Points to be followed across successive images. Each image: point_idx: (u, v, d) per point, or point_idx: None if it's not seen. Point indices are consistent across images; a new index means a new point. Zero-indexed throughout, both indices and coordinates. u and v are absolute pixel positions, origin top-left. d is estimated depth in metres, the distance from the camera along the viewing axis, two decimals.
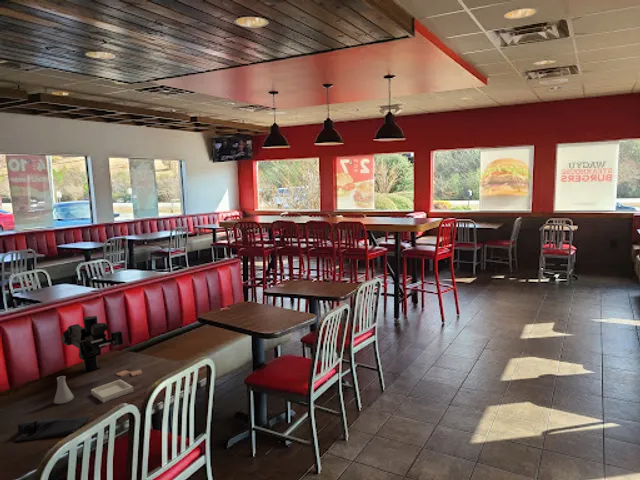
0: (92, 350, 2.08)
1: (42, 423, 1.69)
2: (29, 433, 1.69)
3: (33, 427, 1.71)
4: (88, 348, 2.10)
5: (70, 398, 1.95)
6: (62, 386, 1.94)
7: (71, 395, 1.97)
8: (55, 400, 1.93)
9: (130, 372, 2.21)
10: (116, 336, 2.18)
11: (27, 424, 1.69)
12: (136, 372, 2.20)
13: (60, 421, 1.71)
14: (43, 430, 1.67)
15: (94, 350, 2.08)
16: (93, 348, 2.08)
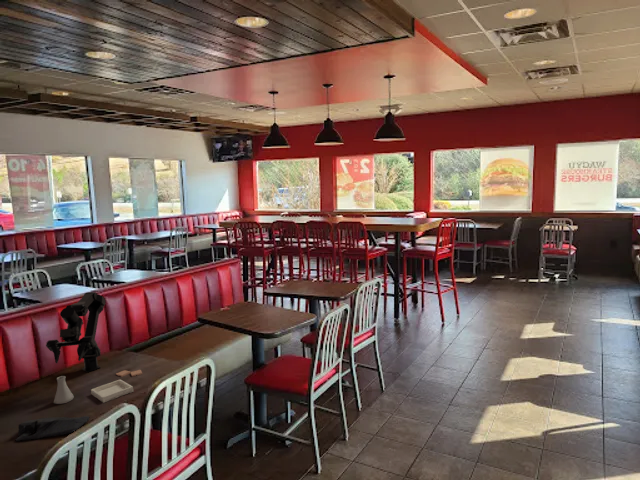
0: None
1: (43, 423, 1.69)
2: (30, 433, 1.69)
3: (34, 427, 1.71)
4: None
5: (70, 398, 1.95)
6: (62, 386, 1.94)
7: (71, 395, 1.97)
8: (55, 400, 1.93)
9: (130, 372, 2.21)
10: (83, 346, 2.05)
11: (28, 424, 1.69)
12: (136, 372, 2.20)
13: (61, 421, 1.71)
14: (43, 430, 1.68)
15: None
16: None
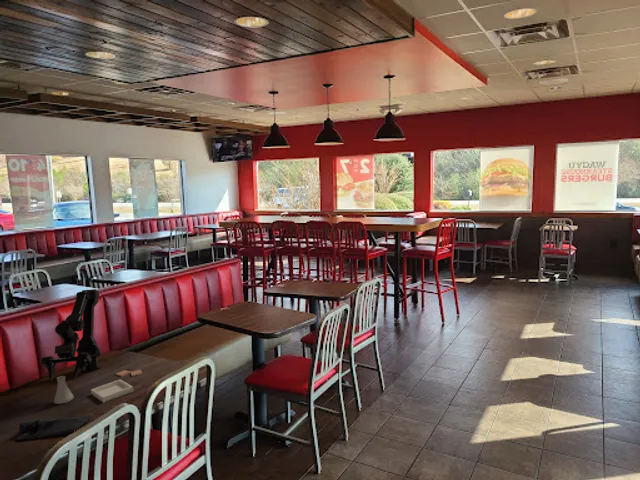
0: None
1: (43, 422, 1.70)
2: (31, 432, 1.70)
3: (34, 426, 1.71)
4: None
5: (70, 398, 1.95)
6: (62, 386, 1.94)
7: (71, 395, 1.97)
8: (55, 400, 1.93)
9: (130, 372, 2.21)
10: (78, 363, 1.99)
11: (29, 423, 1.69)
12: (136, 372, 2.20)
13: (61, 421, 1.72)
14: (44, 430, 1.68)
15: None
16: None
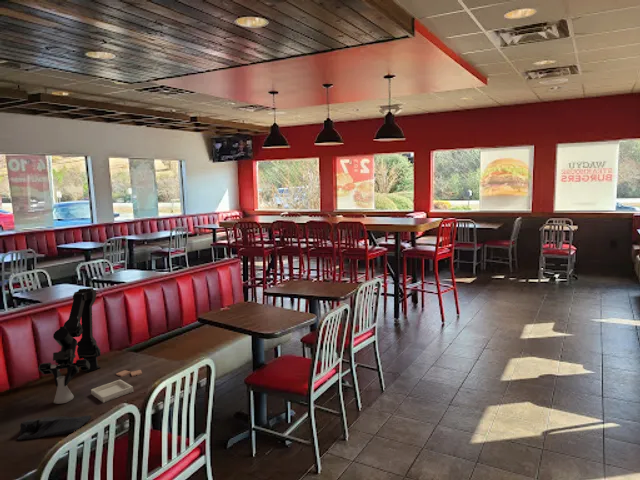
0: None
1: (44, 422, 1.70)
2: (31, 432, 1.70)
3: (35, 426, 1.72)
4: None
5: (70, 398, 1.95)
6: (62, 386, 1.94)
7: (71, 395, 1.97)
8: (55, 400, 1.93)
9: (131, 372, 2.21)
10: (70, 370, 1.97)
11: (29, 423, 1.70)
12: (136, 372, 2.20)
13: (62, 420, 1.72)
14: (45, 429, 1.68)
15: None
16: None
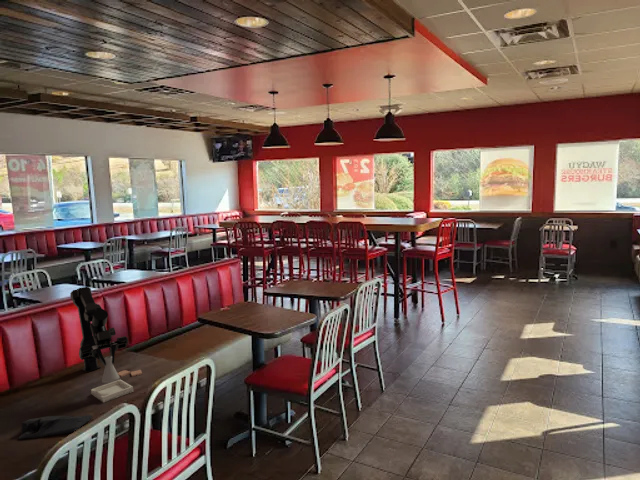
0: (100, 360, 1.98)
1: (45, 421, 1.70)
2: (33, 431, 1.70)
3: (37, 425, 1.72)
4: None
5: (118, 376, 2.00)
6: (111, 365, 1.98)
7: (117, 374, 2.01)
8: (105, 380, 1.96)
9: (131, 372, 2.21)
10: (114, 348, 2.01)
11: (31, 422, 1.70)
12: (136, 372, 2.20)
13: (63, 420, 1.72)
14: (46, 429, 1.69)
15: (102, 362, 1.98)
16: (101, 360, 1.97)
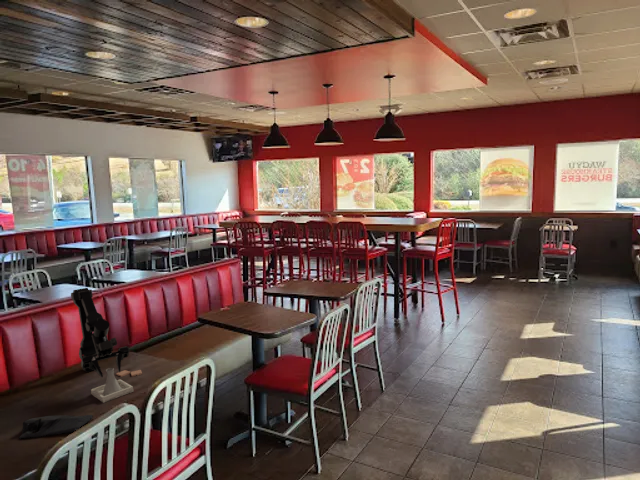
0: (97, 371, 1.98)
1: (46, 421, 1.71)
2: (34, 431, 1.71)
3: (38, 424, 1.73)
4: None
5: (120, 388, 2.01)
6: (113, 377, 1.99)
7: None
8: (107, 392, 1.97)
9: (131, 372, 2.21)
10: (120, 357, 2.03)
11: (32, 421, 1.71)
12: (136, 372, 2.20)
13: (64, 419, 1.72)
14: (46, 428, 1.69)
15: (99, 374, 1.97)
16: (98, 372, 1.97)
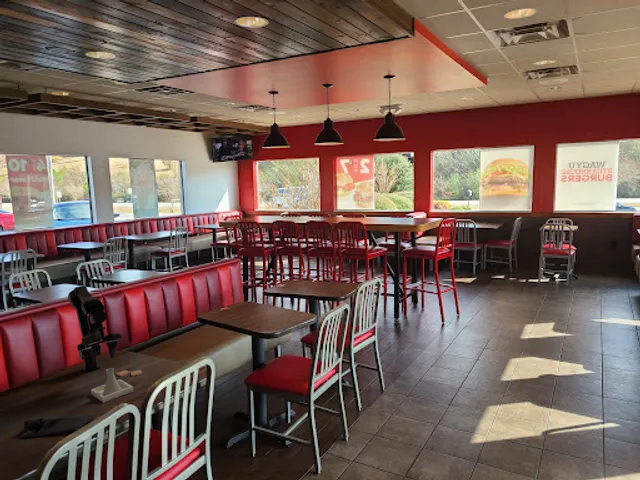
0: None
1: (47, 420, 1.71)
2: (35, 430, 1.71)
3: (39, 424, 1.73)
4: None
5: (120, 388, 2.01)
6: (113, 377, 1.99)
7: None
8: (107, 392, 1.97)
9: (131, 372, 2.21)
10: (109, 345, 2.07)
11: (33, 421, 1.71)
12: (136, 372, 2.20)
13: (65, 419, 1.73)
14: (47, 428, 1.69)
15: None
16: None
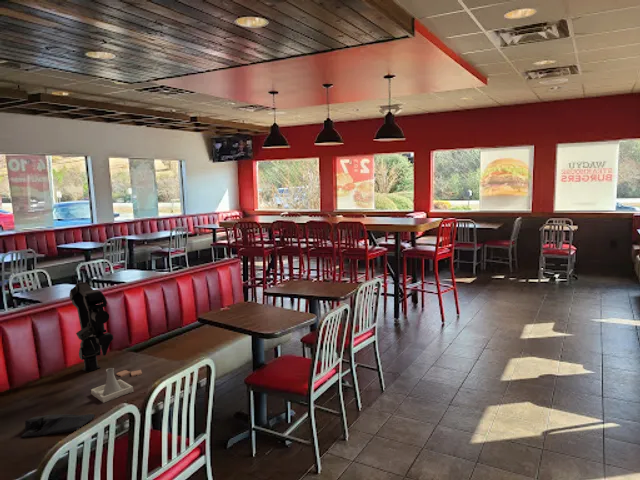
0: None
1: (48, 420, 1.71)
2: (36, 429, 1.72)
3: (40, 423, 1.73)
4: None
5: (120, 388, 2.01)
6: (113, 377, 1.99)
7: None
8: (107, 392, 1.97)
9: (131, 372, 2.21)
10: (100, 345, 2.07)
11: (34, 420, 1.72)
12: (136, 372, 2.20)
13: (66, 418, 1.73)
14: (48, 427, 1.70)
15: None
16: None
